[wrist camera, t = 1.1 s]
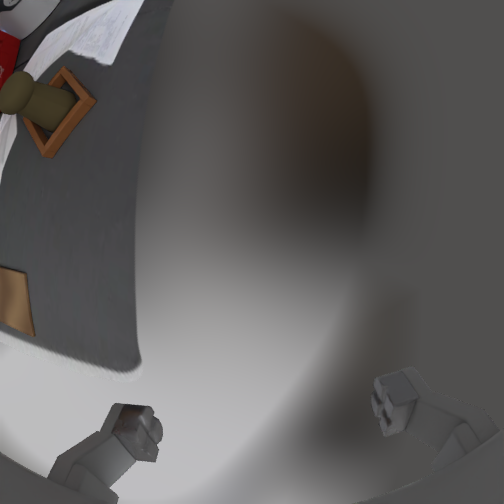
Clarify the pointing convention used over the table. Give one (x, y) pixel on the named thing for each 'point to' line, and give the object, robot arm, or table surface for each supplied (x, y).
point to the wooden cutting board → (15, 301)
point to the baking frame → (70, 121)
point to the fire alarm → (7, 55)
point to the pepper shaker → (35, 100)
